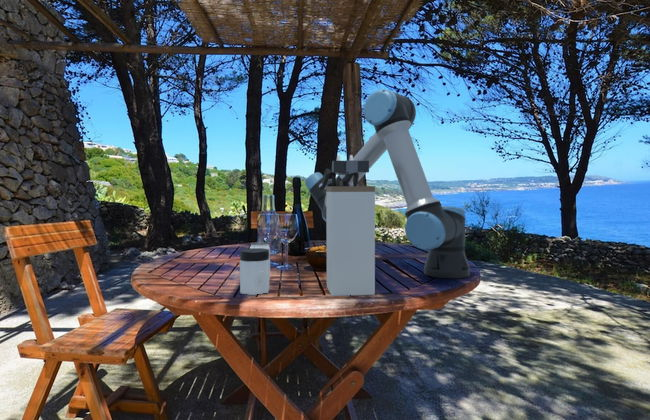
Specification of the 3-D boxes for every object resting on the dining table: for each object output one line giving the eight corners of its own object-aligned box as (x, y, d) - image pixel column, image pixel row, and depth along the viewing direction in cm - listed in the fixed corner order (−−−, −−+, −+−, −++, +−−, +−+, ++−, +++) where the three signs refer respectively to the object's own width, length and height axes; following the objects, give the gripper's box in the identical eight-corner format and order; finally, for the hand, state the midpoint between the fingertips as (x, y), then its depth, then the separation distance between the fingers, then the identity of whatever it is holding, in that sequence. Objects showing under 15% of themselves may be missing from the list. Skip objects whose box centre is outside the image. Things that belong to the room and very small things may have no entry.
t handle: (325, 174, 138) (325, 164, 138) (356, 174, 140) (356, 164, 139) (334, 172, 119) (334, 160, 118) (369, 172, 120) (369, 160, 120)
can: (274, 279, 140) (273, 242, 140) (261, 283, 135) (260, 244, 134) (259, 277, 144) (258, 241, 143) (245, 280, 138) (245, 243, 138)
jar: (246, 297, 117) (245, 253, 117) (234, 291, 124) (234, 249, 124) (275, 292, 122) (275, 250, 122) (263, 287, 129) (262, 247, 129)
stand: (326, 286, 130) (326, 186, 128) (365, 285, 131) (365, 186, 130) (331, 296, 118) (331, 186, 117) (374, 294, 119) (375, 186, 118)
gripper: (360, 206, 150) (373, 169, 129) (313, 206, 148) (319, 169, 127) (358, 187, 153) (370, 148, 133) (312, 187, 152) (317, 148, 131)
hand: (345, 158), depth 130 cm, fingers closed on t handle, 3 cm apart
